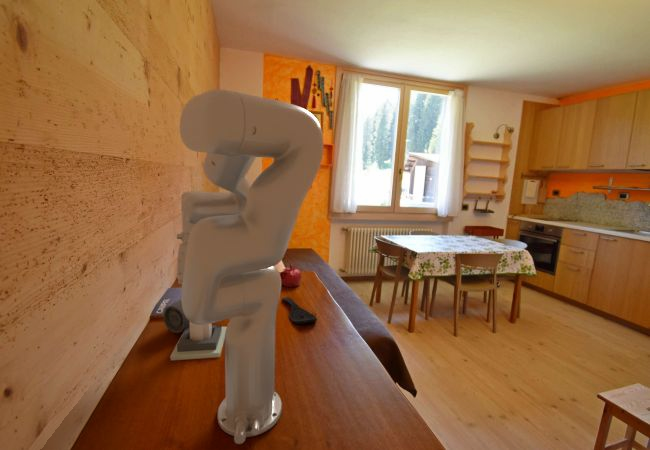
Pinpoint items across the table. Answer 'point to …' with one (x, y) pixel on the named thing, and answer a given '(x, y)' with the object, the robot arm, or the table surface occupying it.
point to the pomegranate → (290, 277)
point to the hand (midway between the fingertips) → (200, 303)
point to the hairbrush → (299, 313)
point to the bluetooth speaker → (175, 318)
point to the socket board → (199, 345)
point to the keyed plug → (200, 331)
